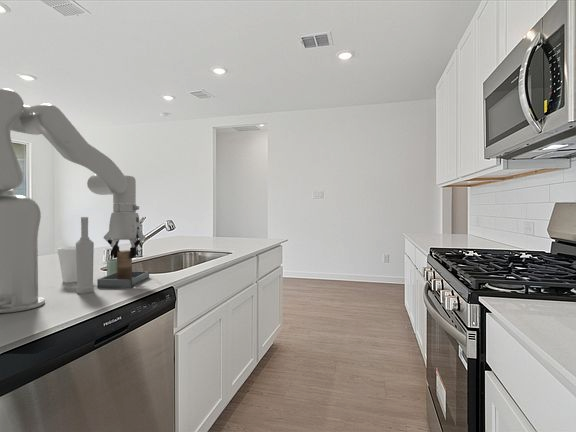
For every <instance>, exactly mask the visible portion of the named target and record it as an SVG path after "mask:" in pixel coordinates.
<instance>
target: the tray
mask: <svg viewBox="0 0 576 432" xmlns="http://www.w3.org/2000/svg"><path fill="white" fill-rule="evenodd" d="M96 279H97V278H96ZM148 279H150V271H148V270H147V271H145V270H137V271H134V270H132V279H117V272H115V273H113V274H110V275H107V274H106V275H105V276H103V277H100V278H98V279H97V281H96V284H97V289H133V288H134V287H135V286H136V285H138V284H140V283H142V282H145V281H146V280H148Z"/></svg>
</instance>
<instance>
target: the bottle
mask: <svg viewBox="0 0 576 432" xmlns="http://www.w3.org/2000/svg"><path fill="white" fill-rule="evenodd" d="M80 226H81V228H80V231H81V234H80V237H79V239H78V240H77V241H76V242H75V246H76V269H77V282H76V287H75V292H76V294H78V295H79V294H81V295H85V294H91V293H92V292H94V290H95V285H94V250H95V249H94V246H95V244H94V243H95V242H94V241H93V240H91V239H90V237H89V217H88V216H81V217H80Z"/></svg>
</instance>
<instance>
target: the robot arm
mask: <svg viewBox="0 0 576 432" xmlns="http://www.w3.org/2000/svg"><path fill="white" fill-rule="evenodd" d="M11 131H12V132H17V133H23V134H27V135H34V136H35V135H36V136H37V135H38V136H39V135H42V136H43V137H44V138H45V139H46V141H48V142H49V143H50V144H51V145H52V146H53V148H54V149H56V151H57V152H58V154H60V155H61V156H62V157H63V158H64V159H65V160H67V161H69V162H71V163H73V164H75V165H79V166H81V167H84V168H86V169H87V170H89V171H90V172H92V173H93V174H92V175H91V176H90V177H89V178H88V179H87V182H86V184H87V188H88V190H89V191H90V192H92V194H95V195H102V196H103V195H104V196H106V195H107V196H108V195H113V196H112V198H113V199H112V211H113V212H111V214H110V218H109V223H108V224H109V226H108V231H107V233H106V234H105V235H104V236H103V239H104V240H105V241H106V242H107V243H108V245H110V247H111V249H112V257H113V258H112V259H117V251H120V246H119V243H120V240H121V241H123V240H124V241H129V242H130V245H131V247H130V248H129V251H130V258H132V259H134V258H136V257H137V255H138V253H137V252H138V249H137V247H139V245H140V244H142V242H143V241H144V240H146V236H145V235H144V234H143V232H142V231H141V230H142V229H141V221H140V215H139V212H137V210H138V211H139V210H140V206H139V205H137V204H136V203H137V202H136V201H137V198H136V197H137V195H136V194H137V193H136V192H137V191H136V189H137V187H136V186H137V185H136V177H134V175H133V176H132V175H125V174H124V173H123V172H122V170H121V169H120V168H119V166H118V165H117V164H116V163H115V162H114V161H113V160H112V159H111V158H110V157H109V156H107V155H106V154H104V153H103V152H102V151H100V150H99V149H97V148H96V147H94V146H92V145H91V144H89V143H88V142H87V140H86V139H85V138H84V137H83V136H82V134H81V133H80V132H79V131H78V129H77V128H76V127H75V126H74V125H73V124H72V122H71V121H70V120H69V119H68V117H66V115H65V114H64V113H63V112H62V111H61V109H60V108H58V107H57V106H56V105H53V104H51V103H39V104H35V105H31V106H29V105H25V103H24V99H23V98H22V96H21V95H20V94H19V93H18V92H16V91H15V90H13V89H10V88H4V87H2V88H1V87H0V314H5V313H15V312H17V313H18V312H23V311H28V310H32V309H36V308H39V307H41V306H43V305H44V304H45V300H46V299H45V298H44V297H41V296H39V258H38V256H39V254H38V253H39V251H38V247H39V246H38V245H39V244H38V241H39V240H38V237H39V236H38V235H39V230H40V229H39V228H40V223H41V218H42V216H41V215H42V214H41V213H42V212H41V208H40V207H39V205H38V203H37V202H36V201H35V200H33V199H32V198H30V197H28V196H25V195H21V194H14V191H13V190H16V189H18V188H19V187H20V186H21V185H22V184H23V181H24V174H23V171H22V168H21V166H20V163H19V160H18V157H17V154H16V151H15V149H14V145H13V142H12V137H11Z"/></svg>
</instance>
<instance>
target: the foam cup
mask: <svg viewBox="0 0 576 432" xmlns="http://www.w3.org/2000/svg"><path fill="white" fill-rule="evenodd" d="M57 255H58V260H59V266H60V272H61V277H62V282H63V283H77V269H76V245H71V246H61V247H57Z"/></svg>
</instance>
